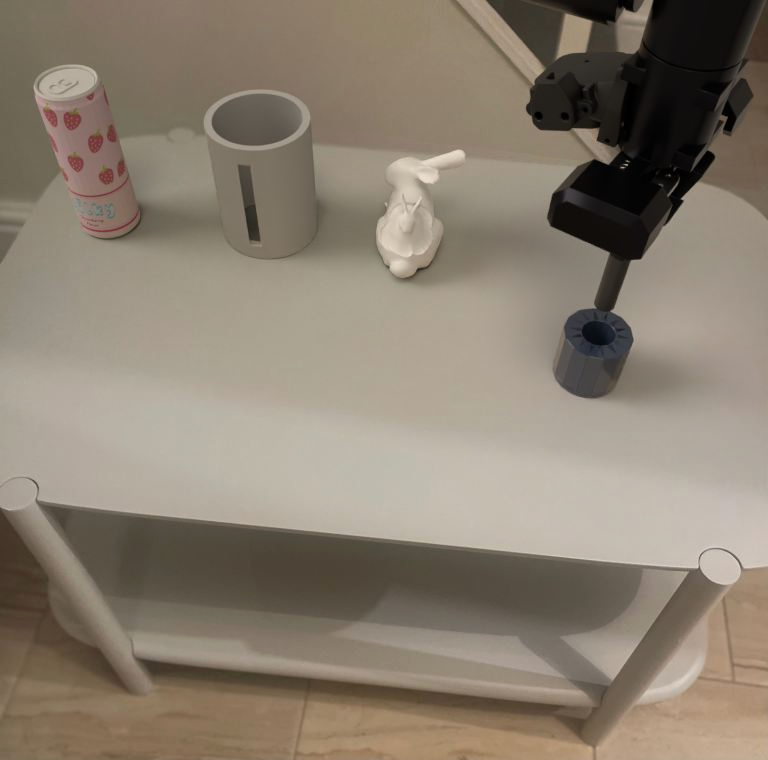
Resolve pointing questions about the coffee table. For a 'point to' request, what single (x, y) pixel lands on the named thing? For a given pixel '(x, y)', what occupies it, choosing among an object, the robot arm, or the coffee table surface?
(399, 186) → the rabbit figurine
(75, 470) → the coffee table surface
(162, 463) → the coffee table surface
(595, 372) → the pen cup
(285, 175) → the cup
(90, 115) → the beverage can
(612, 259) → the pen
